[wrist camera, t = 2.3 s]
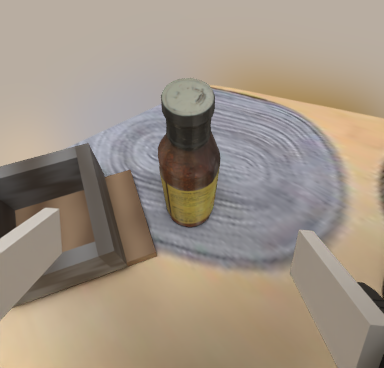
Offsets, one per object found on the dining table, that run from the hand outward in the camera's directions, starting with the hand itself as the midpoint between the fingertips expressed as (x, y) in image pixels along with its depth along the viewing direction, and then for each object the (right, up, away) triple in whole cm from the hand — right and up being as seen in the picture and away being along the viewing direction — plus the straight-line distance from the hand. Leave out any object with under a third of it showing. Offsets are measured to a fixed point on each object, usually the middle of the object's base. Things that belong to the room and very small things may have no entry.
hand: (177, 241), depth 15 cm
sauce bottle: (0, 0, +23) cm, 23 cm away
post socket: (-17, -4, +20) cm, 26 cm away
